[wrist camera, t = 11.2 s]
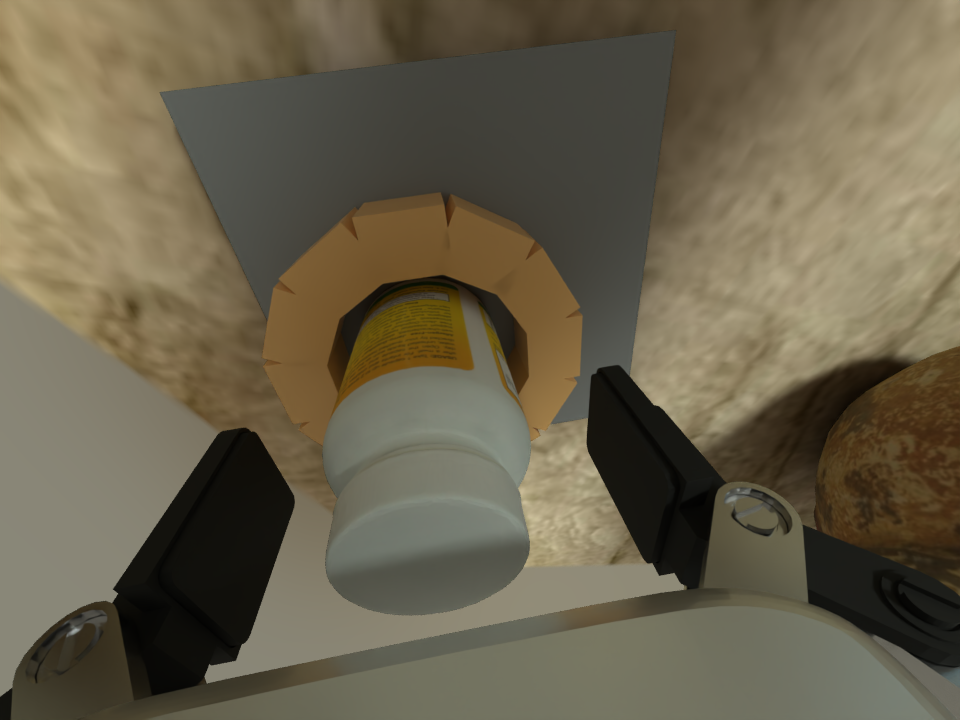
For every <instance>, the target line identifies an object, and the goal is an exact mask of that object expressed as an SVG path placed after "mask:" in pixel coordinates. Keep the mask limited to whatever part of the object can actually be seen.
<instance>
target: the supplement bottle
mask: <svg viewBox="0 0 960 720" xmlns="http://www.w3.org/2000/svg"><path fill="white" fill-rule="evenodd" d="M530 453H531V440H530V432H529V427H528V424H527V420H526V417H525V414H524V411H523V408H522V405H521V402H520V399H519V396H518V394H517V391H516V388H515V385H514V382H513V379H512V376H511V373H510V370H509V368H508V365H507V362H506V359H505V356H504V353H503V350H502V347H501V344H500V341H499V338H498V336H497V333H496V330H495V327H494V325H493V322H492V320H491V317H490V315H489V313H488V311H487V309H486V308H485V306H484V305H483V304H482V302H481V301H480V300H479V299H478V298H477V297H476V296H475V295H474V294H473V293H471V292H470V291H469V290H467V289H466V288H464V287H462V286H460V285H458V284H456V283H453V282H450V281H447V280H444V279H433V278H424V279H415V280H409V281H405V282H402V283H399V284H397V285H395V286H393V287H391V288H389V289H387V290H386V291H385V292H383V293H382V294H381V295H380V296H379V297H377V299H376V300H375V301H374V302H373V303H372V304H371V306H370V307H369V309H368V311H367V312H366V314H365V317H364V319H363V322H362V324H361V327H360V330H359V333H358V336H357V339H356V342H355V344H354V347H353V351H352V354H351V357H350V360H349V363H348V366H347V369H346V372H345V375H344V378H343V381H342V384H341V387H340V390H339V393H338V396H337V399H336V402H335V405H334V408H333V411H332V414H331V417H330V420H329V423H328V426H327V429H326V433H325V436H324V442H323V452H322V457H323V466H324V471H325V475H326V478H327V481H328V483H329V485H330V487H331V489H332V491H333V492H334V494H335V495H336V497H337V498H338V500H337V502H336V504H335V508H334V512H333V521H332V526H331V530H330V535H329V540H328V545H327V550H326V562H325V563H326V564H325V566H326V573H327V577H328V579H329V581H330V583H331V584H332V586H333V587H334V589H336V591H337V592H338V593H339V594H341V595H342V596H343V597H344V598H345V599H347V600H349V601H350V602H353V603H355V604H357V605H358V606H361V607H363V608H366V609H369V610H372V611H376V612H381V613H385V614H394V615H426V614H434V613H443V612H447V611H453V610H457V609H460V608H464V607H467V606H469V605H472V604H475V603H478V602H480V601H481V600H484V599H485V598H488V597H489V596H491V595H493V594H494V593H497V592H498V591H500V590H501V589H503V588H504V587H506V586H507V585H508V584H509V583H511V581H512V580H514V579H515V578H516V577H517V575H518V574H519V573H520V571H521V570H522V569H523V567H524V565H525V563H526V560H527V558H528V555H529V549H530V540H529V535H528V530H527V526H526V522H525V518H524V514H523V509H522V504H521V497H520V492H519V490H518V487H519V485H520V484H521V482H522V480H523V478H524V476H525V474H526V471H527V468H528V464H529V460H530Z"/></svg>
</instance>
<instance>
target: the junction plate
mask: <svg viewBox="0 0 960 720" xmlns="http://www.w3.org/2000/svg"><path fill="white" fill-rule="evenodd" d="M675 35H676V30H672V31H664V32H656V33H647V34H639V35H631V36H622V37H614V38H606V39H597V40H589V41H581V42H573V43H564V44H556V45H548V46H539V47H531V48H523V49H515V50H506V51H498V52H490V53H481V54H473V55H465V56H456V57H448V58H440V59H432V60H423V61H415V62H407V63H398V64H390V65H382V66H373V67H365V68H357V69H349V70H340V71H332V72H324V73H315V74H307V75H299V76H291V77H282V78H274V79H266V80H257V81H249V82H241V83H232V84H224V85H216V86H208V87H199V88H191V89H183V90H174V91H166V92H160V94H161V96H162V99H163V101H164V103H165V105H166V107H167V109H168V111H169V113H170V116H171V118H172V120H173V122H174V124H175V126H176V128H177V130H178V133H179V135H180V137H181V139H182V141H183V143H184V145H185V147H186V149H187V152H188V154H189V156H190V158H191V160H192V162H193V164H194V166H195V169H196V171H197V173H198V175H199V177H200V179H201V181H202V183H203V186H204V188H205V190H206V192H207V194H208V196H209V198H210V200H211V203H212V205H213V207H214V209H215V211H216V213H217V215H218V217H219V220H220V222H221V224H222V226H223V228H224V230H225V232H226V234H227V237H228V239H229V241H230V243H231V245H232V247H233V249H234V251H235V253H236V256H237V258H238V260H239V262H240V264H241V266H242V268H243V270H244V273H245V275H246V277H247V279H248V281H249V283H250V285H251V287H252V290H253V292H254V294H255V296H256V298H257V300H258V302H259V304H260V307H261V309H262V311H263V313H264V315H265V317H266V319H267V321H268V317H269V311H270V305H271V299H272V293H273V288H274V287H275V286H276V285H277V284H278V282H279V281H280V280H279V278H280V277H281V276H282V275H283V274H284V273H285V272H286V271H287V270H288V269H289V268H290V267H291V266H292V264H293V263H294V262H295V261H296V260H297V259H298V258H299V257H300V256H301V255H302V254H303V253H305V252H306V251H307V250H308V249H309V248H310V247H311V246H312V245H313V244H315V243H316V242H317V241H318V240H319V239H320V238H321V237H322V236H323V235H325V234H326V233H327V232H328V231H329V230H330V229H331V228H332V227H333V226H335V225H336V224H337V223H338V222H339V221H340V220H341V219H342V218H343V217H345V216H346V215H347V214H348V213H349V212H350V211H351V210H352V209H353V208H354V207H356V209H357V210H359V208H360V207H361V206H362V205H363V203H367V202H374V201H381V200H388V199H395V198H403V197H410V196H417V195H424V194H431V193H438V192H441V195H442V198H443V202H444V206H445V208H446V205H447V202H448V199H449V196H450V194H452V195H455V196H457V197H459V198H461V199H464V200H466V201H468V202H470V203H472V204H475V205H477V206H479V207H481V208H484V209H486V210H488V211H490V212H492V213H495V214H497V215H499V216H501V217H504V218H506V219H508V220H510V221H512V222H515V223H517V224H518V225H519V226H520V227H521V228H522V229H523V230H525V231H526V232H527V233H528V234H529V235H530V236H531V237H532V238H533V239H534V240H535V241H536V242H537V243H538V244H539V245H540V246H541V247H543V249H544V251H545V252H546V254H547V255H548V257H549V258H550V260H551V262H552V263H553V265H554V266H555V268H556V270H557V271H558V273H559V274H560V276H561V277H562V279H563V281H564V282H565V284H566V285H567V287H568V288H569V290H570V292H571V293H572V295H573V296H574V298H575V299H576V301H577V303H578V304H579V306H580V308H579V309H577V310H578V311H579V312H580V313H581V314H582V315H583V317H582V339H581V361H580V376H576V377H574V378H575V380H576V382H577V384H576V386H575V387H574V389H573V390H572V392H571V393H570V395H569V396H568V398H567V399H566V401H565V402H564V404H563V405H562V407H561V408H560V410H559V411H558V413H557V414H556V416H555V417H554V419H553V420H552V422H551V424H556V423H561V422H567V421H573V420H578V419H584V418H588V412H589V397H590V382H591V375H592V374H596V372H597V369H598V368H601V367H607V366H613V365H620V366H621V367H622V368H623V369H624V370H625V372H626V373H627V374H628V375H629V376H630V368H631V361H632V354H633V346H634V339H635V331H636V324H637V317H638V309H639V302H640V294H641V287H642V280H643V272H644V265H645V257H646V250H647V243H648V235H649V228H650V220H651V213H652V206H653V198H654V191H655V183H656V176H657V169H658V161H659V154H660V146H661V139H662V132H663V124H664V117H665V109H666V102H667V95H668V87H669V80H670V72H671V65H672V58H673V50H674V43H675ZM424 278H433V279H444V280H447V281H450V282H453V283H456V284H458V285H460V286H462V287H464V288H466V289H467V290H469V291H470V292H471V293H473V294H474V295H475V296H476V297H477V298H478V299H479V300H480V301H481V302H482V304H483V305H484V306H485V308H486V309H487V311H488V313H489V315H490V317H491V320H492V322H493V325H494V327H495V330H496V333H497V336H498V338H499V341H500V344H501V347H502V350H503V353H504V356H505V359H506V361H507V359H508V357H509V355H510V353H511V351H512V350H513V348H514V346H515V335H514V320H513V315H512V313H511V312H510V311H509V310H508V308H507V307H506V306H505V304H504V303H503V302H502V301H501V299H500V298H499V297H498V295H497V294H494V293H491V292H489V291H486V290H483V289H480V288H478V287H475V286H472V285H470V284H467V283H464V282H462V281H459V280H456V279H454V278H451V277H448V276H446V275H437V276H430V277H423V278H417V279H424ZM410 280H415V279H410ZM405 281H409V280H404V281H397V282H390V283H384V284H382V285H381V286H379V287H378V288H377V289H376V290H374V291H373V292H372V293H371V294H370V295H368V296H367V297H366V298H365V299H363V300H362V301H361V302H360V303H359V304H357V305H356V306H355V307H354V308H352V309H351V310H350V311H349V312H348V313H346V315H345V319H344V322H343V326H342V329H341V334H342V337H343V340H344V343H345V346H346V348H347V351H348V354H349V357H351V354H352V351H353V347H354V344H355V342H356V339H357V336H358V333H359V330H360V327H361V324H362V322H363V319H364V317H365V314H366V312H367V311H368V309H369V307H370V306H371V304H372V303H373V302H374V301H375V300H376V299H377V297H379V296H380V295H381V294H382V293H383V292H385V291H386V290H387V289H389V288H391V287H393V286H395V285H397V284H399V283H402V282H405Z"/></svg>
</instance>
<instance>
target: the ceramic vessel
mask: <svg viewBox="0 0 960 720" xmlns="http://www.w3.org/2000/svg"><path fill="white" fill-rule="evenodd" d="M815 492H816V506H815V510H814V518H815V523H816V527H817V530H818V531H820V532H822V533H825V534H827V535H830V536H832V537H835V538H837V539H840V540H842V541H845V542H847V543H850V544H852V545H855V546H857V547H860V548H862V549H865V550H868V551H870V552H873V553H875V554H878V555H880V556H883V557H885V558H888V559H890V560H893V561H895V562H898V563H900V564H903V565H905V566H908V567H910V568H913V569H915V570H918V571H920V572H922V573H924V574H926V575H928V576H931V577H933V578H935V579H937V580H938V581H940V582H941V583H943V584H944V585H946V586H947V587H949V588H950V589H952V590H953V591H955V592H956V593H957V594H958V595H959V596H960V346H959V347H955V348H952V349H949V350H946V351H943V352H940V353H937V354H934V355H932V356H930V357H928V358H926V359H924V360H921V361H919V362H917V363H915V364H913V365H911V366H909V367H907V368H905V369H904V370H902V371H900V372H898V373H897V374H895V375H893V376H891V377H890V378H888V379H886V380H884V381H882V382H881V383H879V384H877V385H876V386H874V387H873V388H871V389H869V390H868V391H866V392H865V393H864V394H862V395H861V396H860V397H859V398H857V399H856V400H855V401H854V402H853V403H851V404H850V405H849V406H848V407H847V408H846V410H845V411H844V412H843V413H842V414H841V415H840V417H839V418H838V420H837V421H836V423H835V424H834V425H833V427H832V428H831V430H830V431H829V433H828V436H827V439H826V442H825V445H824V448H823V451H822V454H821V457H820V460H819V464H818V469H817V477H816V486H815Z"/></svg>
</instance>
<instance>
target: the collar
mask: <svg viewBox="0 0 960 720" xmlns="http://www.w3.org/2000/svg"><path fill="white" fill-rule="evenodd" d="M437 275H446V276H448V277H451V278H454V279H456V280H459V281H462V282H464V283H467V284H470V285H472V286H475V287H478V288H480V289H483V290H486V291H489V292H491V293H494V294H497V295H498V297H499V298H500V299H501V301H502V302H503V303H504V304H505V306H506V307H507V308H508V310H509V311H510V312H511V313H512V315H513V320H514V335H515V346H514V348H513V350H512V351H511V353H510V355H509V357H508V359H507V361H506V362H507V365H508V368H509V370H510V373H511V376H512V379H513V382H514V385H515V388H516V391H517V394H518V396H519V399H520V402H521V405H522V408H523V411H524V414H525V417H526V420H527V424H528V427H529V432H530V440H531V441H533V440H534V439H536V438H537V437H539V436H540V433H539V431H538V429H541V430H545V431H546V430H547V428H548V427H549V425H550V424H551V422H552V420H553V419H554V417H555V416H556V414H557V413H558V411H559V410H560V408H561V407H562V405H563V404H564V402H565V401H566V399H567V398H568V396H569V395H570V393H571V392H572V390H573V389H574V387H575V386H576V384H577V382H576V380H575V378H574V377H576V376H580V361H581V339H582V317H583V315H582V314H581V313H580V312H579V311H578V310H577V309H579V308H580V306H579V304H578V303H577V301H576V299H575V298H574V296H573V295H572V293H571V292H570V290H569V288H568V287H567V285H566V284H565V282H564V281H563V279H562V277H561V276H560V274H559V273H558V271H557V270H556V268H555V266H554V265H553V263H552V262H551V260H550V258H549V257H548V255H547V254H546V252H545V251H544V249H543V247H541V246H540V245H539V244H538V243H537V242H536V241H535V240H534V239H533V238H532V237H531V236H530V235H529V234H528V233H527V232H526V231H525V230H523V229H522V228H521V227H520V226H519V225H518V224H517V223H515V222H512V221H510V220H508V219H506V218H504V217H501V216H499V215H497V214H495V213H492V212H490V211H488V210H486V209H484V208H481V207H479V206H477V205H475V204H472V203H470V202H468V201H466V200H464V199H461V198H459V197H457V196H455V195H452V194H450V196H449V199H448V202H447V205H446V208H445V206H444V202H443V198H442V195H441V192H438V193H431V194H424V195H417V196H410V197H403V198H395V199H388V200H381V201H374V202H367V203H363V205H362V206H361V207H360V208H359V210H357V209H356V207H354V208H353V209H352V210H351V211H350V212H349V213H348V214H347V215H346V216H345V217H343V218H342V219H341V220H340V221H339V222H338V223H337V224H336V225H335V226H333V227H332V228H331V229H330V230H329V231H328V232H327V233H326V234H325V235H323V236H322V237H321V238H320V239H319V240H318V241H317V242H316V243H315V244H313V245H312V246H311V247H310V248H309V249H308V250H307V251H306V252H305V253H303V254H302V255H301V256H300V257H299V258H298V259H297V260H296V261H295V262H294V263H293V264H292V266H291V267H290V268H289V269H288V270H287V271H286V272H285V273H284V274H283V275H282V276H281V277H280V278H279V280H280V281H279V282H278V284H277V285H276V286H275V287H274V288H273V293H272V299H271V305H270V311H269V317H268V323H267V329H266V335H265V341H264V346H263V352H262V358H263V359H267V362H266V363H265V365H264V366H263V368H264V369H265V371H266V373H267V375H268V377H269V379H270V381H271V383H272V385H273V387H274V389H275V391H276V393H277V395H278V397H279V398H280V400H281V402H282V404H283V406H284V408H285V410H286V412H287V414H288V416H289V418H290V420H291V422H292V424H298V423H301V426H300V428H299V431H300V432H302V433H303V434H305V435H306V436H308V437H309V438H311V439H312V440H314V441H315V442H317V443H318V444H320V445H321V446H323V442H324V436H325V433H326V429H327V426H328V423H329V420H330V417H331V414H332V411H333V408H334V405H335V402H336V399H337V396H338V393H339V390H340V387H341V384H342V381H343V378H344V375H345V372H346V369H347V366H348V363H349V360H350V357H349V354H348V351H347V348H346V346H345V343H344V340H343V337H342V334H341V329H342V326H343V322H344V319H345V315H346V313H348V312H349V311H350V310H351V309H352V308H354V307H355V306H356V305H357V304H359V303H360V302H361V301H362V300H363V299H365V298H366V297H367V296H368V295H370V294H371V293H372V292H373V291H374V290H376V289H377V288H378V287H379V286H381V285H382V284H384V283H390V282H397V281H404V280H410V279H417V278H423V277H430V276H437Z"/></svg>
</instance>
